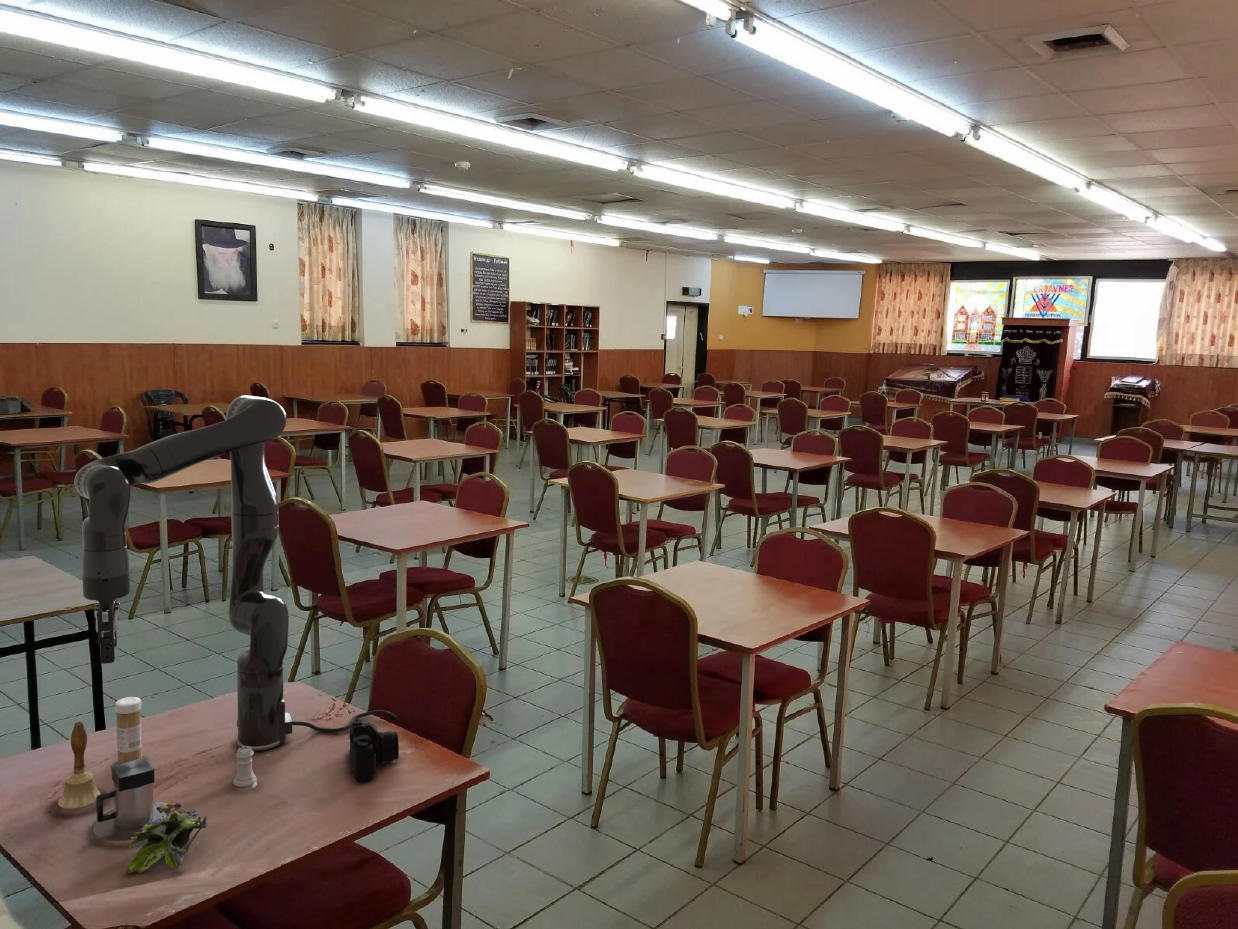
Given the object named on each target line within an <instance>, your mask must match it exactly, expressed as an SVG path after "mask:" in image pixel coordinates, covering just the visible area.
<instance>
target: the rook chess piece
mask: <svg viewBox="0 0 1238 929" xmlns="http://www.w3.org/2000/svg"><path fill="white" fill-rule="evenodd" d="M254 752H255V751H252V748H251V747H250V749H249V746H247V747H246V748H245V749H244V746H243V747H242V749H241V748H239V747H238V749H237V751H236V753H235V757H236V758H237V760H236V764H237V771H236V774H235V777H234V779H233V781H232V784H233V785H234V786H235V787H237V788H246V787H250V786H251V789H252V790H254V789H255V788H256V787H257V786H258V782H257V776H256V774H255V773H254V771H253V766H252V765H253V764H252V762H253V758H252V756H253V755H254Z"/></svg>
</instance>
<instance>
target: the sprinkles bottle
mask: <svg viewBox="0 0 1238 929" xmlns="http://www.w3.org/2000/svg"><path fill="white" fill-rule="evenodd" d="M141 710H142V699H140V698H139V697H136V696H127V697H122V698H120V699H118V700H116V701H115V703H114V711H115V715H116V748H117V765H118V764H122V763H126V762H130V761H134V760H138V759H142V758H143V756H142V755H143V754H142V753H143V752H142V720H141Z"/></svg>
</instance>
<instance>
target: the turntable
mask: <svg viewBox="0 0 1238 929" xmlns="http://www.w3.org/2000/svg"><path fill="white" fill-rule="evenodd" d="M153 803H154V819H156V818H159V817H160V818H162V816H164V817H167V816H166V814H165V813H159V811H158V810H157V809H156V808H157V807H159V806H166V805H167V804H168V803H165V802H160V801H153ZM113 812H114V808H113V809H110V810H108V811H107V812H105V813H103V815H106V814H110V813H113ZM173 812H174V811H173ZM154 819H153V820H154ZM146 825H147V824H146ZM144 826H145V825H144ZM142 828H144V827H143V826H142V827H139V828H135V829H128V830H125V829H119V828H117V827H116V826H115V825H114V818H113V819H110V820H106V821H103V822H98V821H97V819H96V820H95V821H94V822H93V825H92V829H91V830H92V833H93V835H94V836H96V837H97V838H99V839H102V840H104V841H105V840H106V841H111V842H112V841H113V842H122V841H131V840H132V839H131V837H137V836H135V834H134V833H136V832H138V833H139V832H140V833H142V831H143V830H142ZM132 841H133V840H132Z"/></svg>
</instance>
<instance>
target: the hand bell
mask: <svg viewBox="0 0 1238 929" xmlns="http://www.w3.org/2000/svg"><path fill="white" fill-rule="evenodd" d="M87 745H88V733H87V729H86V728H85V726H84V722H83V721H76V722H75V723H74V726H73V729H72V732H71V736H70V746H71V751H72V753H73V756H74V760H73V761H74V762H73V773H71V774H70V775H68V776H66V778H65V780H64V788H63V792H62V795H61V796H60V798H59V799H58V800H57V805H58V806H59V807H61V808H64V809H78V808H82V807H87V806H89V805H91V804H93V803H95V802H96V797H97V796H98V795H101V794H102V793H101V792H100V790H99V789H98V788H97V786H96V783H95V779H94V774H93V773H92V772H90V771H85V766H86V765H85V751H86V749H87Z"/></svg>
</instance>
